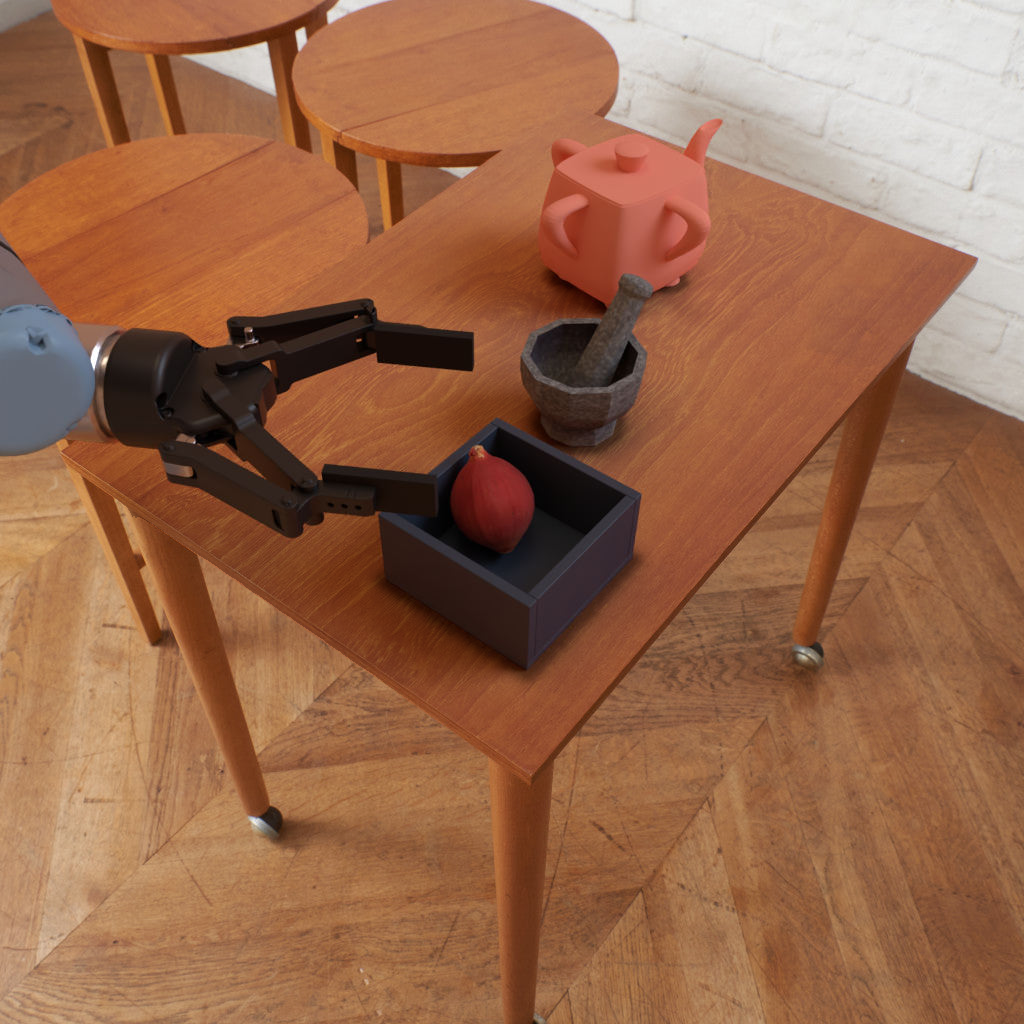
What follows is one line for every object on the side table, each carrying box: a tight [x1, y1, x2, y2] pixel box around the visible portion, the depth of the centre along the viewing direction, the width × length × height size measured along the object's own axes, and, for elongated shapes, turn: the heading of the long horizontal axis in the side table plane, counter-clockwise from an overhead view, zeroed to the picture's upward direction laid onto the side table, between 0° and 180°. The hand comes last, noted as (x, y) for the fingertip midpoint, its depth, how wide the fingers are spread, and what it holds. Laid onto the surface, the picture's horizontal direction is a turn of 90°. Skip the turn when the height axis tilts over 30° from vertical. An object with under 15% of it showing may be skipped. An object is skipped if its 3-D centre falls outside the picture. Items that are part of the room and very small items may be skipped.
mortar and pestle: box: [519, 273, 653, 448], centre depth 82 cm, size 11×9×12 cm
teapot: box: [537, 118, 724, 309], centre depth 96 cm, size 17×16×13 cm
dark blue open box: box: [377, 416, 643, 671], centre depth 72 cm, size 13×13×7 cm
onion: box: [450, 445, 535, 554], centre depth 73 cm, size 6×6×8 cm
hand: (457, 419), depth 65 cm, fingers open, 13 cm apart
